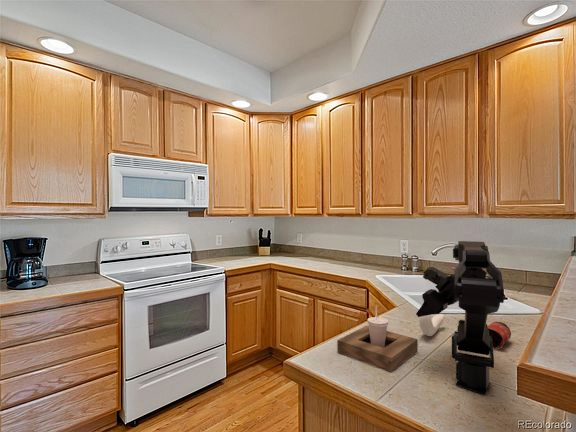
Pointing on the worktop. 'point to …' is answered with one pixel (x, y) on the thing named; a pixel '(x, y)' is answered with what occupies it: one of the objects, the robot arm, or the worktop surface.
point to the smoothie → (377, 330)
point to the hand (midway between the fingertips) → (423, 312)
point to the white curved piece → (431, 323)
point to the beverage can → (499, 333)
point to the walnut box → (378, 349)
